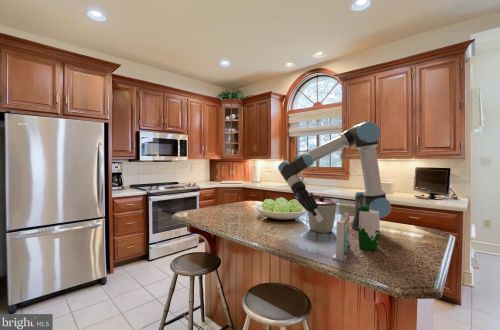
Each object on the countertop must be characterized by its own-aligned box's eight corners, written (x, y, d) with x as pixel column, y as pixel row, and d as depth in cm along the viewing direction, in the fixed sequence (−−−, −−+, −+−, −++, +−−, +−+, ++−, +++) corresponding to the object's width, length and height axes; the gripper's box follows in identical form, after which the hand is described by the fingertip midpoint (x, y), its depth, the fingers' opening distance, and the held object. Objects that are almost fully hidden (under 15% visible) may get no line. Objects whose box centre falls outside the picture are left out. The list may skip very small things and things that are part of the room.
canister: (307, 234, 144) (308, 197, 143) (304, 226, 162) (304, 193, 161) (340, 235, 142) (341, 198, 141) (333, 227, 160) (333, 194, 159)
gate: (343, 243, 125) (343, 217, 125) (347, 243, 124) (348, 217, 124) (337, 253, 111) (338, 224, 111) (342, 254, 110) (343, 224, 110)
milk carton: (359, 243, 129) (360, 204, 128) (379, 247, 124) (380, 206, 123) (356, 248, 121) (358, 207, 121) (377, 252, 116) (379, 209, 116)
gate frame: (341, 242, 130) (342, 211, 129) (351, 244, 127) (352, 212, 127) (332, 259, 108) (333, 222, 107) (345, 261, 105) (346, 223, 105)
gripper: (300, 188, 146) (324, 223, 133) (284, 190, 138) (308, 227, 125) (308, 179, 141) (333, 214, 129) (291, 181, 134) (316, 218, 121)
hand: (320, 220), depth 127 cm, fingers closed
